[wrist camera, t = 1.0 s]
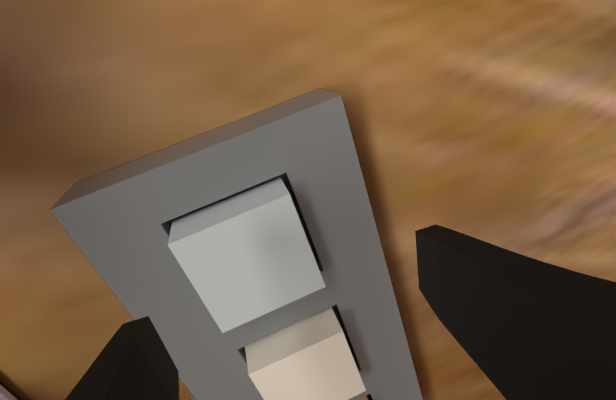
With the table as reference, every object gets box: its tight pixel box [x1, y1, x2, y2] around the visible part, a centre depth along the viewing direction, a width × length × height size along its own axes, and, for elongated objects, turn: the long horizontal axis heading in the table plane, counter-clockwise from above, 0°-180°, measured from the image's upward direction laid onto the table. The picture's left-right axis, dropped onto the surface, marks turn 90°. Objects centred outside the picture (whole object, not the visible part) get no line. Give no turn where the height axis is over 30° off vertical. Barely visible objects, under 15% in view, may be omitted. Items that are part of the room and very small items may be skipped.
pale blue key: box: [168, 178, 326, 333], centre depth 15 cm, size 5×5×2 cm
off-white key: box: [245, 307, 366, 400], centre depth 19 cm, size 5×5×2 cm
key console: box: [50, 88, 423, 400], centre depth 21 cm, size 12×26×3 cm, turn 18°
